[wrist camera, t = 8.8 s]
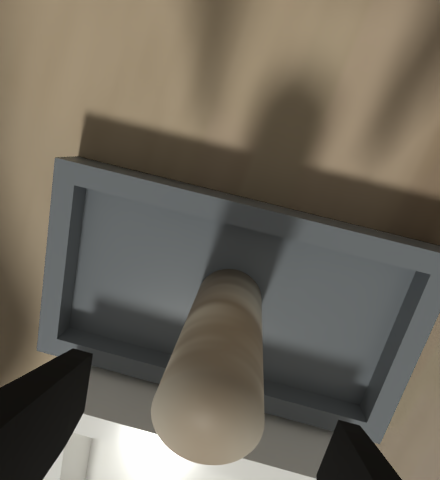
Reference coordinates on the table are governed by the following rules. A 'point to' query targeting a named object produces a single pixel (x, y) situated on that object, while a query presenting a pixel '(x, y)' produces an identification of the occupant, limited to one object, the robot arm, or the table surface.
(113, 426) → the white square dish
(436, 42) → the table surface
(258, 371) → the dowel
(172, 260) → the tray
